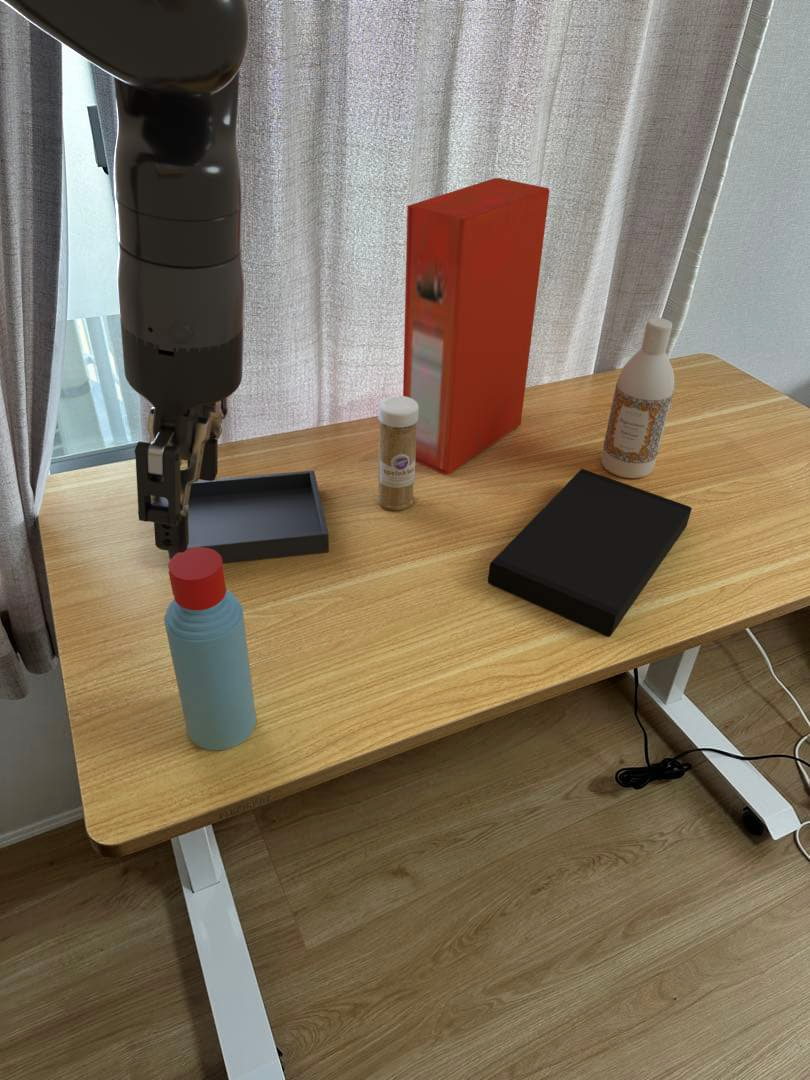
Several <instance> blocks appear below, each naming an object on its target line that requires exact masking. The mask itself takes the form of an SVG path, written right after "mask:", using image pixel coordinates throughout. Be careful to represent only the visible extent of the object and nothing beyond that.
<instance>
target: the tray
mask: <svg viewBox="0 0 810 1080" xmlns="http://www.w3.org/2000/svg"><path fill="white" fill-rule="evenodd" d="M188 504H189V510H188V531H189V544H188V546H187V549H189V548H195V547H204V548H209V549H212V550H214V551H216V552H218V553H219V554H220V556H221V558H222V563H223V564H229V563H238V562H248V561H257V560H268V559H276V558H277V559H278V558H285V557H296V556H305V555H315V554H323V553H330V540H329V535H330V534H329V530H328V526H327V522H326V517H325V512H324V508H323V504H322V499H321V495H320V490H319V486H318V481H317V477H316V473H315V470H304V471H303V470H302V471H292V472H291V471H290V472H278V473H267V474H256V475H245V476H234V477H221V478H215V480H213V481H206V480H200V479H199V480H198V481H197V482H194V483H192V485H191V489H190V496H189V503H188ZM167 552H168V556H169V561H170V560H171V559H172V558H173V557H174V556H175V555H176V554H177V553H179V552H173V551H167Z"/></svg>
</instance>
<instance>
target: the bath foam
mask: <svg viewBox="0 0 810 1080" xmlns="http://www.w3.org/2000/svg"><path fill="white" fill-rule="evenodd" d="M672 329H673V322H672V321H670V320H668V319H666V318H663V317H651V318H649V319H648V320H647V322H646V326H645V329H644V334H643V339H642V343H641V348H640V349H639V350H638V351H637V352H636V353H634V355H633V356H632V357H631V358H630V359H629V360H628V361H626V363H625V364H624V366H623V367H622V369H621V371H620V372H619V375H618V378H617V381H616V384H615V389H614V392H613V393H614V395H613V399H612V402H611V403H612V404H611V407H610V412H609V418H608V422H607V426H606V431H605V436H604V441H603V447H602V452H601V457H600V462H601V464H602V466H603V468H604V469H605V470H606V471H608V472H609V473H610V474H612V475H614V476H617V477H619V478H620V477H621V478H625V479H641V478H644V477H647V476H649V475H651V473H652V472H653V470H654V469H655V465H656V461H657V459H658V455H659V450H660V446H661V443H662V439H663V435H664V430H665V428H666V427H665V426H666V423H667V419H668V415H669V412H670V408H671V404H672V400H673V396H674V393H675V392H674V391H675V381H676V380H675V373H674V369H673V366H672V364H671V361H670V359H669V356H668V354H667V349H668V346H669V342H670V337H671V334H672Z"/></svg>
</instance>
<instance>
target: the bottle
mask: <svg viewBox="0 0 810 1080" xmlns="http://www.w3.org/2000/svg"><path fill="white" fill-rule="evenodd" d="M164 626H165V631H166V637H167V641H168V645H169V651H170V656H171V661H172V665H173V670H174V675H175V680H176V684H177V685H176V686H177V690H178V694H179V700H180V703H181V709H182V714H183V719H184V724H185V728H186V734H187V736H188V738H189V739H190V740H191V742H192V743H193V744H194V745H196V746H197V747H199V748H201V749H204V750H207V751H225V750H229V749H233V748H235V747H237V746H239V745H241V744H242V743H244V742H245V741H246V740H247V739H248V738H249V737H250V736H251V735H252V734H253V732H254V730H255V727H256V724H257V716H256V706H255V698H254V691H253V690H254V689H253V682H252V675H251V666H250V657H249V650H248V641H247V635H246V634H247V632H246V625H245V616H244V609H243V605H242V603H241V602H240V600H239V599H238V597H237V596H236V595H235V594H234V593H233V592H231V591H229V590H227V589H226V595H225V597H224V598H223V600H222V601H221V602H220V603H218V604H217V605H215V606H213V607H211V608H208V609H204V610H188V609H185V608H183V607H181V606H179V605H178V604H177V603H176V601H175V598H174V599H172V601H171V602H170V603H169V604H168V606H167V608H166V612H165V615H164Z"/></svg>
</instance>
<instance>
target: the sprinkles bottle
mask: <svg viewBox="0 0 810 1080" xmlns="http://www.w3.org/2000/svg"><path fill="white" fill-rule="evenodd" d="M418 413H419V406H418V403H417V402H416V401H415V400H413V399H411V398H409V397H405V396H403V395H390V396H387V397H385V398H383V399H381V401H379V403H378V413H377V418H378V423H379V433H378V434H379V435H378V450H377V479H378V491H377V492H378V494H377V496H376V497H377V499H376V500H377V503H378V504H379V506H381V507H382V508H383V509H385V510H389V511H402V510H406V509H408V508H410V507H411V506H412V505H413V503H414V499H415V498H414V485H415V483H414V482H415V475H416V474H415V473H416V461H415V457H416V424H417V421H418Z"/></svg>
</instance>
